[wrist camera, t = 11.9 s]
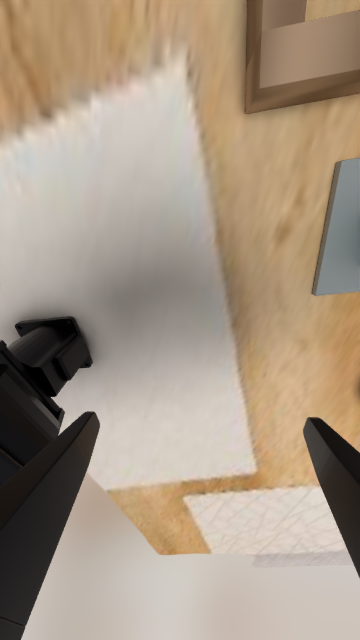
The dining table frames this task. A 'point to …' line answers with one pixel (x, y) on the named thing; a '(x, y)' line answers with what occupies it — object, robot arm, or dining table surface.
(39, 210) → the dining table surface
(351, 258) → the slate coaster
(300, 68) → the walnut pocket
